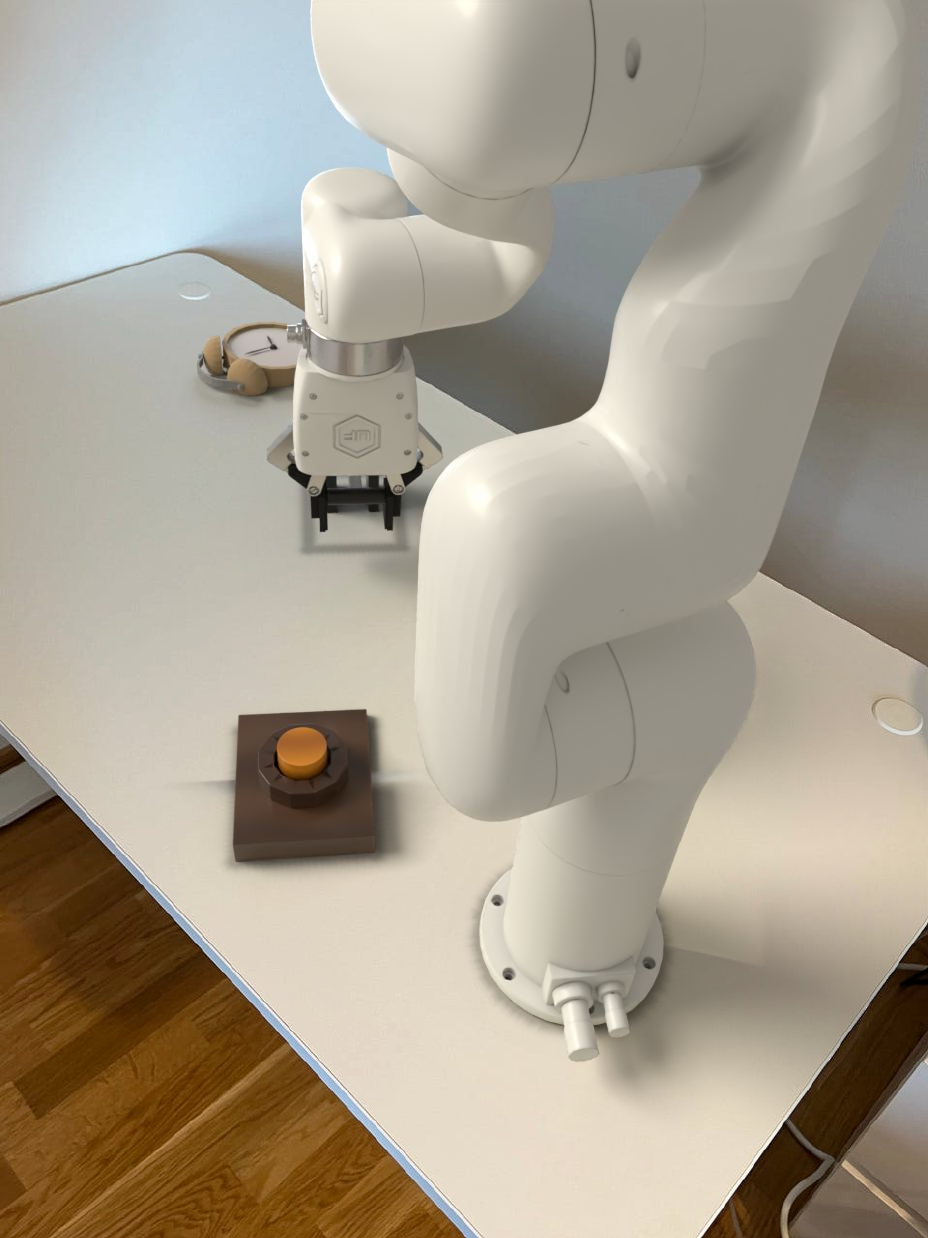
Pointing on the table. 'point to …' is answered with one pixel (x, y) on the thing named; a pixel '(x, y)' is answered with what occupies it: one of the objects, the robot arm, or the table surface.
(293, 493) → the table surface
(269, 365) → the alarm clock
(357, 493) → the switch lever
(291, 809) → the button block
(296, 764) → the light button
